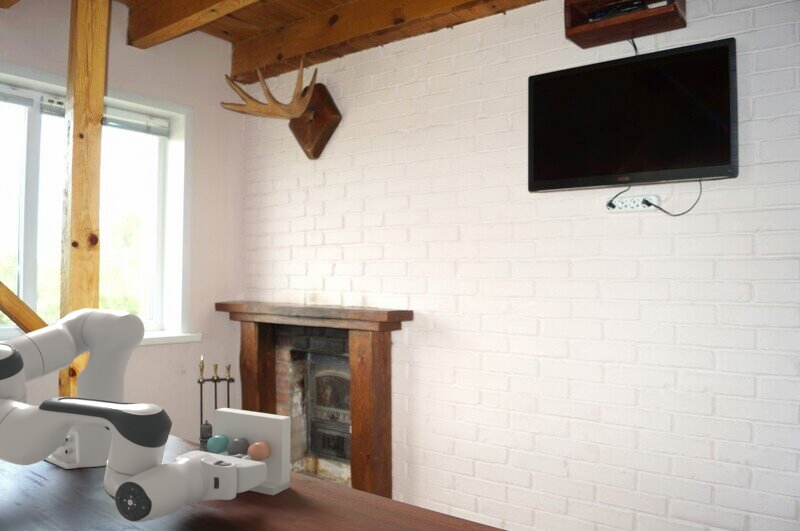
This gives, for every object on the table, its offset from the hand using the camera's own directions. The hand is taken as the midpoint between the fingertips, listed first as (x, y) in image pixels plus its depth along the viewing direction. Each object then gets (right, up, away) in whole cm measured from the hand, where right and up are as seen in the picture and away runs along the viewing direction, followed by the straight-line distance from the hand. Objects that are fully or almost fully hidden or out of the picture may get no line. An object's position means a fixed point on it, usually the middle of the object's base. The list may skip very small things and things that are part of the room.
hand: (245, 458), depth 135 cm
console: (-2, -9, +10) cm, 14 cm away
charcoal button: (-4, -2, +7) cm, 8 cm away
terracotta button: (+2, -2, +5) cm, 5 cm away
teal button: (-9, -2, +10) cm, 14 cm away
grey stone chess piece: (-15, -9, +22) cm, 28 cm away
